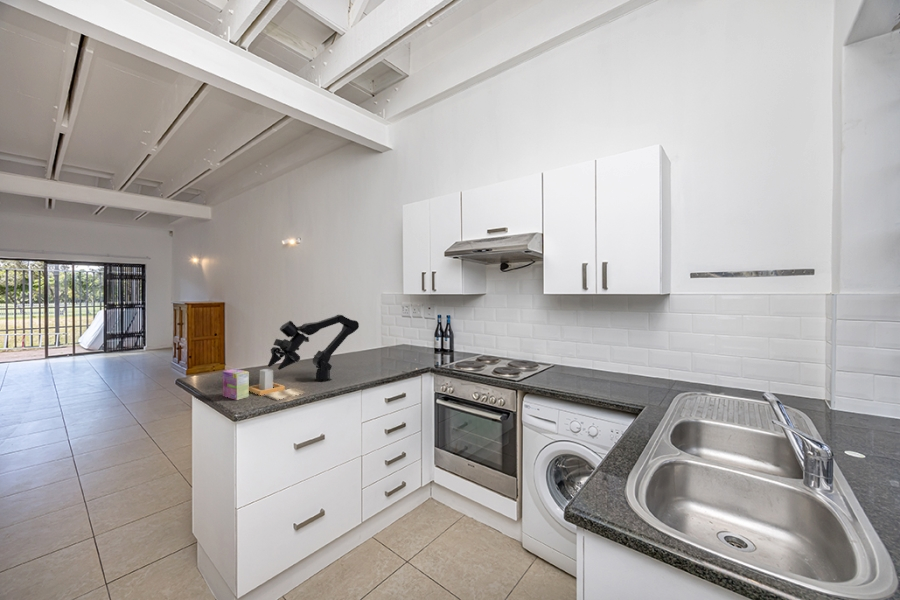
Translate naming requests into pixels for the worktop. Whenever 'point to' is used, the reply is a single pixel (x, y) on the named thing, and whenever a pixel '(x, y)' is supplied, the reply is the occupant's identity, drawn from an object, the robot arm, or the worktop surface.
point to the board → (284, 394)
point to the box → (236, 384)
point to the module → (266, 379)
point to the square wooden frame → (261, 392)
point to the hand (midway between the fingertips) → (273, 367)
